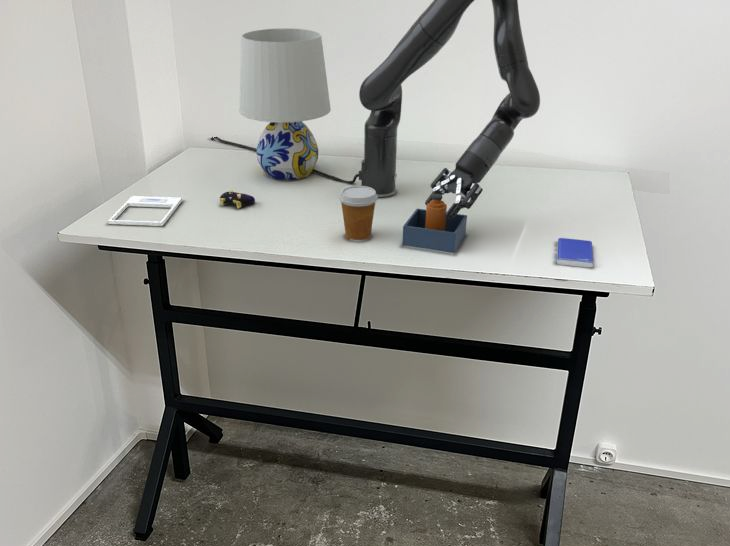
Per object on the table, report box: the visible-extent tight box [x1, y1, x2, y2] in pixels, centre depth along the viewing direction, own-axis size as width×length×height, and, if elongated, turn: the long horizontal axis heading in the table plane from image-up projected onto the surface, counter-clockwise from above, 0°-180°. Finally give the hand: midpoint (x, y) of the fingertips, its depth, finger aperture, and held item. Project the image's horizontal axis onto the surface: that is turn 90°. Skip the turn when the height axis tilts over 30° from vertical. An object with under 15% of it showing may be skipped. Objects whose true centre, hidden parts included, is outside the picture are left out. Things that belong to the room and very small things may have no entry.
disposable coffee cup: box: [338, 185, 379, 241], centre depth 179 cm, size 10×10×12 cm
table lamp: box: [238, 27, 332, 181], centre depth 212 cm, size 27×27×40 cm
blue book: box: [556, 237, 594, 269], centre depth 172 cm, size 2×8×12 cm
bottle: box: [425, 194, 448, 231], centre depth 176 cm, size 5×5×12 cm
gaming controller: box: [219, 190, 256, 209], centre depth 200 cm, size 10×5×6 cm
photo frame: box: [107, 195, 183, 227], centre depth 195 cm, size 15×1×18 cm
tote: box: [401, 208, 468, 254], centre depth 178 cm, size 13×12×6 cm
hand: (437, 212), depth 175 cm, fingers open, 8 cm apart
